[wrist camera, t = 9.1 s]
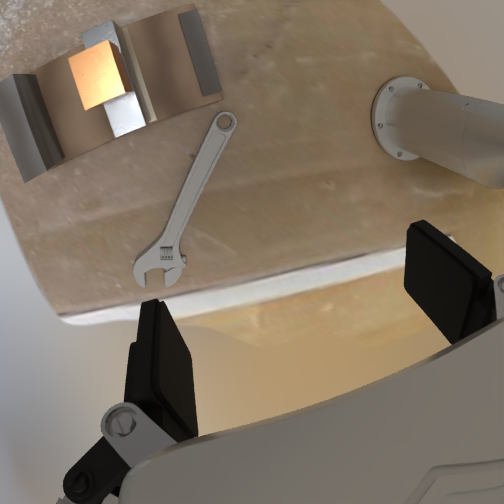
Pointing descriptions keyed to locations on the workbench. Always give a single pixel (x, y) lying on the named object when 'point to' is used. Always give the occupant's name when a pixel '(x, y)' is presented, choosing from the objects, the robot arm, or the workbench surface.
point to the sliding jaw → (110, 78)
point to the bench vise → (96, 120)
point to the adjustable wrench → (184, 207)
